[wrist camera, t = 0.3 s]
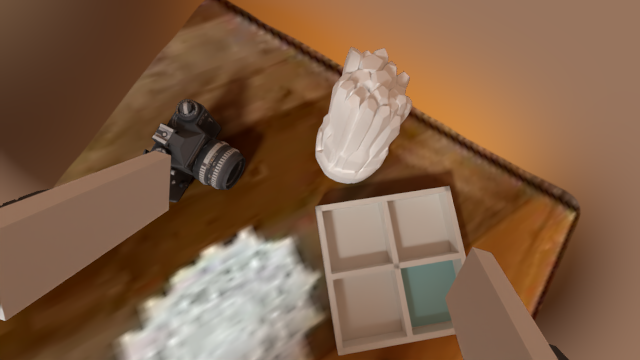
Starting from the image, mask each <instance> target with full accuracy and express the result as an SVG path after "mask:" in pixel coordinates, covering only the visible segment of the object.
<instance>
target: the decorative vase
mask: <svg viewBox="0 0 640 360" xmlns="http://www.w3.org/2000/svg"><path fill="white" fill-rule="evenodd" d="M409 79H410V77H409V76H408V75H407V74H406V73H405V72H402V73H400V74H399V75H397V67H396V65H395V64H394V63H393V62H392V61H391V62H389V63H388V55H387V52H386V50H385V48H383V49H379V50H376V51H375V52H374V53H372V54H371V53H370V52H369V51H368V50H366V51H365V52H363V53H361V52H360V51H359V50H358V49H356V48H353V47H351V48H350V50H349V52H348V55H347V57H346V61H345V64H344V69H343V74H342V77H341V78H340V79H339V80H338V81H337V83H336V84H335V86H334V87H333V91H332V97H331V103H330V108H329V113H328V114H327V115H326V116H325V117H324V119H323V124H322V125H321V126H320V128H319V131H318V135H317V141H316V155H315V156H316V159H317V161H318V163H319V165H320V167H321V168H322V170H323V172H324V173H325V175H327V176H328V177H329V178H331V179H333V180H335V181H337V182H342V183H348V184H350V183H353V184H354V183H357V182H360V181H362V180H364V179H366V178H367V177H369V176H370V175H371V174H373V173H374V172H375V171H376V170H377V169H378V168H379V167H380V166H381V165H382V163H383V161H384V159H385V157H386V156H387V154H388V147H389V145H390V143H391V142H392V141H393V140H394V139H395V138H396V136H397V135H398V134H399V130H400V124H401V123H402V122H403V121H404V120H405V118H406V117H407V116H408V114H409V112H410V110H411V108H412V101H411V99H410V98H409V97H408V96H406V95H405V91H406V87H407V85H408V82H409Z"/></svg>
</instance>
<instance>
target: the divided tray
mask: <svg viewBox="0 0 640 360" xmlns="http://www.w3.org/2000/svg"><path fill="white" fill-rule="evenodd" d="M315 211H316V217H317V224H318V230H319V237H320V243H321V250H322V256H323V263H324V270H325V276H326V283H327V289H328V296H329V302H330V309H331V315H332V322H333V328H334V335H335V341H336V347H337V352H338V356H339V355H345V354H350V353H356V352H361V351H367V350H372V349H378V348H383V347H388V346H394V345H399V344H405V343H410V342H416V341H421V340H426V339H432V338H437V337H443V336H448V335H454V334H456V333H455V330H454V327H453V323H452V320H451V316H450V313H449V310H448V306H447V303H446V300H445V297H446V295H447V293H448V292H449V290H450V288H451V286H452V284H453V282H454V280H455V278H456V277H457V275H458V273H459V271H460V269H461V267H462V265H463V263H464V262H465V260H466V255H465V251H464V247H463V242H462V238H461V234H460V229H459V225H458V221H457V217H456V212H455V208H454V204H453V199H452V195H451V191H450V187H449V186H445V187H439V188H432V189H426V190H419V191H413V192H406V193H400V194H393V195H386V196H380V197H373V198H367V199H360V200H354V201H347V202H341V203H334V204H328V205H321V206H316V207H315Z"/></svg>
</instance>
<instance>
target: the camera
mask: <svg viewBox="0 0 640 360" xmlns="http://www.w3.org/2000/svg"><path fill="white" fill-rule="evenodd" d="M220 130H221V127H220V125H219V124H218V123H217V122H216V121H215V120H214V118H213V117H212V116H211V115H210V113H209V112H208V111H207V110H206V109H205V107H204V106H203V105H201V104H199V103H197V102H195V101H193V100H190V99H185V100H182V101H180V102H179V103H178V105H177V107H176V111H175V113H174V115H173V116H172V118H171V119H170V121H169V123H168V124H167V125H166V124H163V123H161V124H160V126H159V127H158V129H157V131H156V133H155V134H154V136H153V137H152V139H153V140H154V141H155V142H156V143H155V145H154V146H153V148H152V150H151V151H150V152H152V151H158V152H161V153H165V154H168V155H171V167H170V187H169V201H172V202H178V201H179V199H180V198H181V196H182V194H183V192H184V191H185V189H186V188H188V186H189V183H190V181H191V179H192V177H193V176H194V177H195V178H196V179H198V180H200V181H201V183H203V184H206V185H211V186H213V187H214V188H216V189H221V190H224V189H227V190H229V189H230V188H232V187H233V186H234V185H235V184H236V182H237V181H238V179H239V178H240V176H241V174H242V172H243V170H244V166H245V162H246V161H245V158H244V157H243V155H242V154H241V153H240V152H239V150H237V149H235V148H232V147H231V146H229V144H228V143H226V142H225V141H220V140H217V139H216V137H217V135H218V133H219V132H220ZM150 152H149V151H148V150H146V149H145V150H144V152H143V155H144V154H147V153H150Z"/></svg>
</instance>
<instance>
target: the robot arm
mask: <svg viewBox="0 0 640 360" xmlns="http://www.w3.org/2000/svg"><path fill="white" fill-rule="evenodd" d="M170 167H171V155H168V154H165V153H161V152H158V151H152V152H150V153H147V154H144V155H142V156H139V157H136V158H134V159H131V160H128V161H125V162H123V163H120V164H117V165H115V166H112V167H109V168H107V169H104V170H101V171H99V172H96V173H93V174H90V175H88V176H85V177H82V178H80V179H77V180H74V181H72V182H69V183H66V184H64V185H61V186H58V187H56V188H52V189H47V190H42V191H37V192H34V193H31V194H28V195H26V196H23V197H20V198H19V199H18V200H12V201H9V202H6V203H3V205H2V206H0V319H1V320H4V321H6V320H8V319H9V318H10V317H12V316H13V315H15V314H16V313H18V312H19V311H21V310H22V309H24V308H25V307H27V306H28V305H30V304H31V303H33V302H34V301H35V300H37V299H38V298H40V297H41V296H43V295H44V294H46V293H47V292H49V291H50V290H52V289H53V288H55V287H56V286H57V285H59V284H60V283H62V282H63V281H65V280H66V279H68V278H69V277H71V276H72V275H74V274H75V273H77V272H78V271H79V270H81V269H82V268H84V267H85V266H87V265H88V264H90V263H91V262H93V261H94V260H96V259H97V258H99V257H100V256H101V255H103V254H104V253H106V252H107V251H109V250H110V249H112V248H113V247H115V246H116V245H118V244H119V243H121V242H122V241H124V240H125V239H126V238H128V237H129V236H131V235H132V234H134V233H135V232H137V231H138V230H140V229H141V228H143V227H144V226H146V225H147V224H148V223H150V222H151V221H153V220H154V219H156V218H157V217H159V216H160V215H162V214H163V213H165V212H166V211H168V208H169V187H170ZM445 300H446V303H447V306H448V310H449V313H450V316H451V320H452V323H453V327H454V330H455V333H456V337H457V340H458V343H459V347H460V350H461V353H462V357H463V360H568V358H567V357H566V356H565V355H563V353H562V352H561V351H560V350H559V349H558V348H557V347H556V346H553V345H550V344H548V343H547V341H546V339H545V338H544V336H543V335H542V333H541V332H540V330H539V328H538V327H537V325H536V323H535V322H534V320H533V319H532V317H531V315H530V314H529V312H528V310H527V309H526V307H525V306H524V304H523V302H522V301H521V299H520V298H519V296H518V294H517V293H516V291H515V290H514V288H513V286H512V285H511V283H510V282H509V280H508V278H507V277H506V275H505V274H504V272H503V270H502V269H501V267H500V266H499V264H498V262H497V261H496V259H495V258H494V256H493V254H492V253H491V252H488V251H484V250H481V249H478V248H474V247H472V249H471V250H470V252H469V254H468V256H467V258H466V260H465V262H464V263H463V265H462V267H461V269H460V271H459V273H458V275H457V277H456V278H455V280H454V282H453V284H452V286H451V288H450V290H449V292H448V293H447V295H446V297H445Z"/></svg>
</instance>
